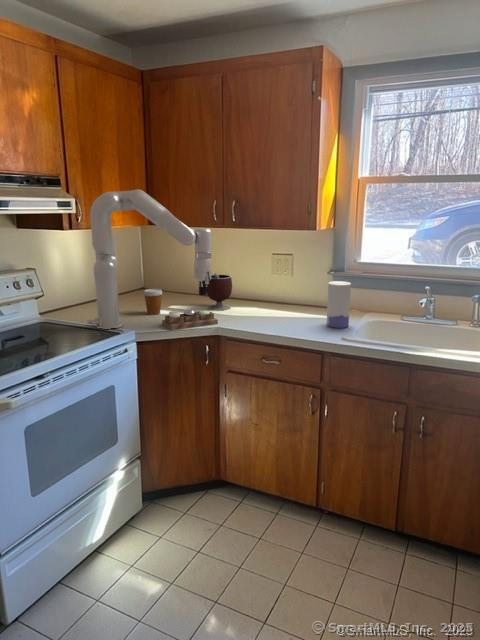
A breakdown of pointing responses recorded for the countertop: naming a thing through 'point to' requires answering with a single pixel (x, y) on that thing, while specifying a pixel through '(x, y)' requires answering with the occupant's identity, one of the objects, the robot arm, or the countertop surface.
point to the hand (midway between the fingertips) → (202, 294)
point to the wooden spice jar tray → (189, 321)
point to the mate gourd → (219, 291)
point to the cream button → (174, 314)
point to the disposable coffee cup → (153, 300)
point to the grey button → (189, 312)
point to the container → (338, 304)
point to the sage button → (204, 312)
